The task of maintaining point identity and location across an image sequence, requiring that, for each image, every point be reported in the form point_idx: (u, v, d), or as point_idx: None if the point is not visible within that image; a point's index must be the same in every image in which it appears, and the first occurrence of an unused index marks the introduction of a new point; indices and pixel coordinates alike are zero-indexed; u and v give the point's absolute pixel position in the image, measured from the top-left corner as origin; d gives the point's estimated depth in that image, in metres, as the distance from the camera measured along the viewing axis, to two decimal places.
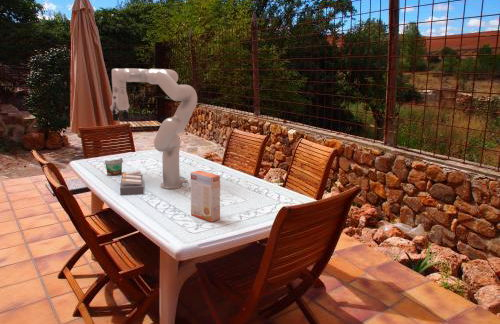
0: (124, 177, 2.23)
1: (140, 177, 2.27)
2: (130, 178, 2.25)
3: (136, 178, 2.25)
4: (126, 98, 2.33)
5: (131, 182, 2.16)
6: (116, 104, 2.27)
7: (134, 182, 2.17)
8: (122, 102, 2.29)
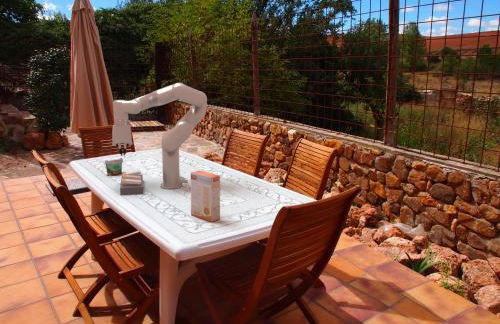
0: (124, 177, 2.23)
1: (140, 177, 2.27)
2: (130, 178, 2.25)
3: (136, 178, 2.25)
4: None
5: (131, 182, 2.16)
6: None
7: (134, 182, 2.17)
8: None
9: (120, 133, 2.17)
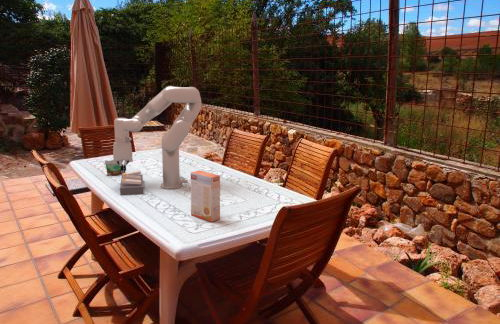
0: (124, 177, 2.23)
1: (140, 177, 2.27)
2: (130, 178, 2.25)
3: (136, 178, 2.25)
4: None
5: (131, 182, 2.16)
6: None
7: (134, 182, 2.17)
8: None
9: (121, 150, 2.19)
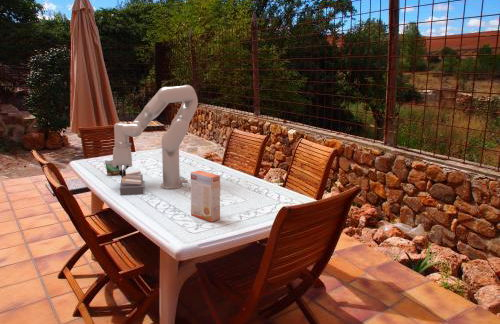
0: (124, 177, 2.24)
1: (140, 177, 2.27)
2: (130, 178, 2.25)
3: (136, 178, 2.25)
4: None
5: (131, 182, 2.16)
6: None
7: (134, 182, 2.17)
8: None
9: (121, 155, 2.20)
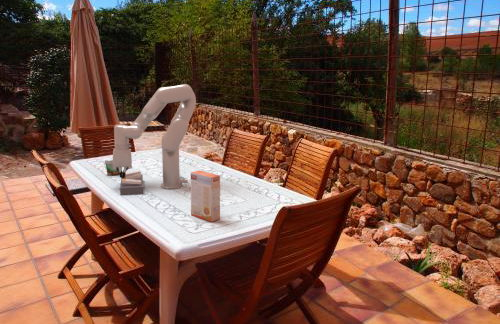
0: None
1: (139, 174, 2.26)
2: (130, 178, 2.25)
3: (136, 176, 2.25)
4: None
5: (131, 182, 2.16)
6: None
7: (134, 182, 2.17)
8: None
9: (121, 157, 2.20)
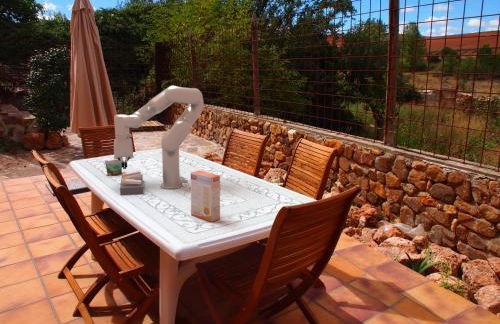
0: None
1: (139, 175, 2.26)
2: (130, 178, 2.25)
3: (136, 177, 2.25)
4: None
5: (131, 182, 2.16)
6: None
7: (134, 182, 2.17)
8: None
9: (122, 147, 2.19)
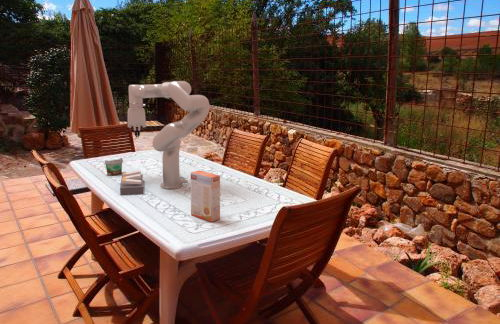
0: None
1: (139, 175, 2.26)
2: (130, 178, 2.25)
3: (136, 177, 2.25)
4: None
5: (131, 182, 2.16)
6: None
7: (134, 182, 2.17)
8: None
9: (135, 116, 2.31)
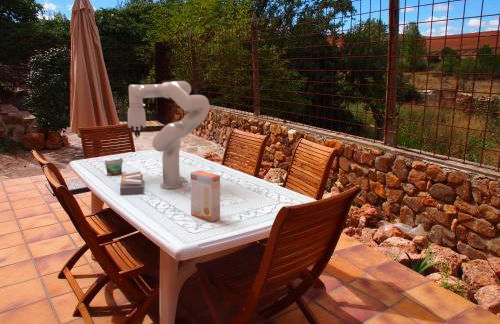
0: None
1: (140, 175, 2.26)
2: (130, 178, 2.25)
3: (136, 177, 2.25)
4: None
5: (131, 182, 2.16)
6: None
7: (134, 182, 2.17)
8: None
9: (135, 116, 2.31)
